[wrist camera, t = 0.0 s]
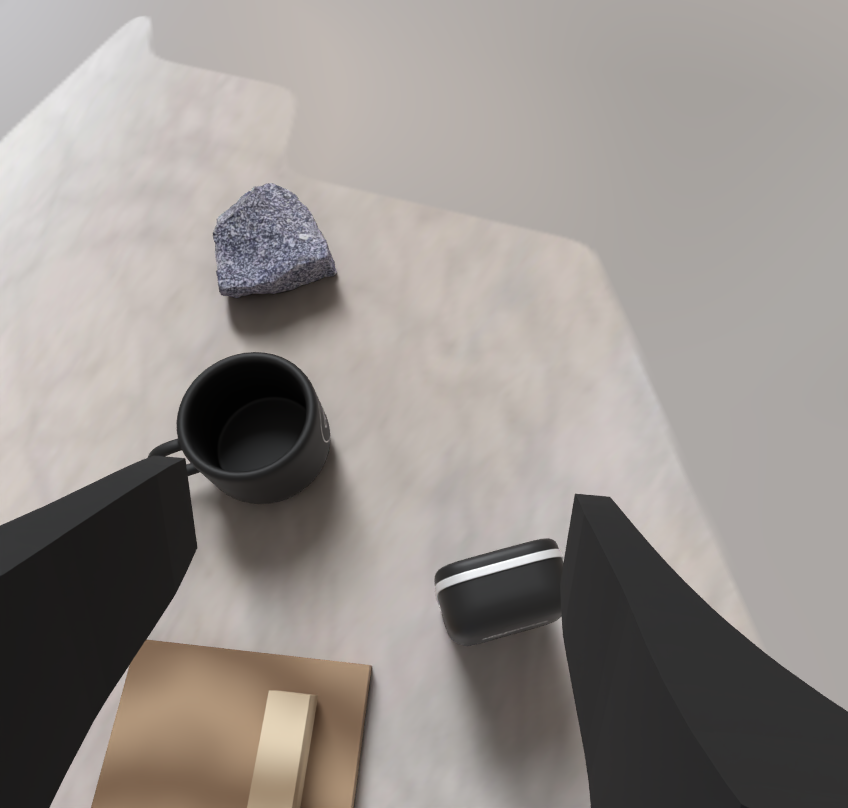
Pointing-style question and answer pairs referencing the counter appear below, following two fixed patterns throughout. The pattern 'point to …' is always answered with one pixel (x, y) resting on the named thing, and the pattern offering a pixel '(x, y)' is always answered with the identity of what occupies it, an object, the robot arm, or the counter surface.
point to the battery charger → (501, 592)
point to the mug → (252, 428)
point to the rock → (269, 244)
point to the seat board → (225, 727)
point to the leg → (283, 750)
